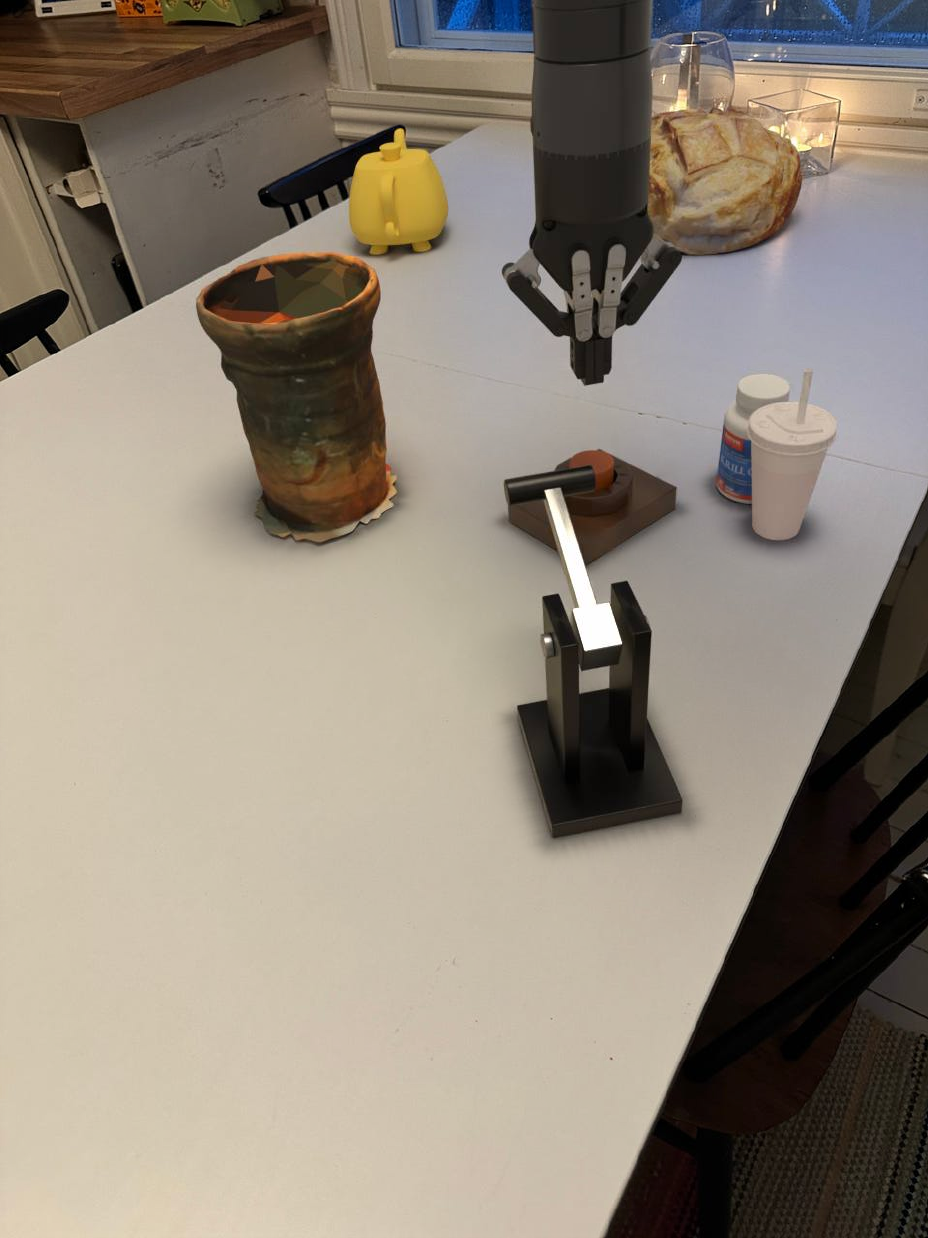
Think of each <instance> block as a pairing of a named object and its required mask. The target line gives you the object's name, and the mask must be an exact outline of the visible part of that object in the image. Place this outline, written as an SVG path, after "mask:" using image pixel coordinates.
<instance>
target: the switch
mask: <svg viewBox="0 0 928 1238" xmlns="http://www.w3.org/2000/svg"><path fill="white" fill-rule="evenodd" d="M595 489H596V478H595V473H594V470H593V467H592V466H591V465H585V466H579V467H574V468H568V469H562V470H556V471H554V470H551V471H546V472H540V473H534V474H528V475H524V476H516V477H511V478H506V479H504V480H503V490H504V496H505V502H506V504H507V507H508V506H514V505H520V504H526V503H532V502H537V501H544V504H545V507H546V511H547V514H548V518H549V521H550V524H551V528H552V531H553V535H554V538H555V541H556V545H557V548H558V551H557V552H558V555H559V558H560V562H561V565H562V568H563V571H564V575H565V578H566V581H567V585H568V589H569V592H570V595H571V599H572V603H573V606H574V607H573V608H572V609H571V611H570V612H571V613H570V619H569V621H570V623H571V626H572V629H573V631H574V634H575V636H576V639H577V642H578V644H579V671H581V672H584V671H590V670H595V669H600V668H606V667H609V666H612V665H617V664H619V659H620V655H621V651H622V646H623V642H622V639H621V636H620V633H619V629H618V626H617V623H616V620H615V617H614V614H613V611H612V607H611V601H606V602H600V603H597V598H596V596H595V592H594V589H593V587H592V583H591V579H590V577H589V573H588V570H587V567H586V566H587V565H585V563H584V560H583V557H582V553H581V550H580V547H579V544H578V541H577V537H576V534H575V531H574V528H573V524H572V521H571V518H570V515H569V512H568V508H567V505H566V502H565V499H564V497H566V496H572V495H577V494H583V493H589V492H594V491H595Z"/></svg>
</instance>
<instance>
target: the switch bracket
mask: <svg viewBox="0 0 928 1238" xmlns="http://www.w3.org/2000/svg"><path fill="white" fill-rule="evenodd" d="M541 603H542V621H543V622H542V625H543V627H542V628H543V633H540V647H541V651H542V654H543V657H544V667H545V690H546V699H543V700H538V701H532V702H528V703H521V704H519V705H516V711H517V713H516V714H517V719H518V722H519V723H518V724H519V727H520V729H521V734H522V737H523V741H524V744H525V747H526V751H527V754H528V758H529V761H530V764H531V768H532V772H533V775H534V778H535V782H536V785H537V788H538V792H539V795H540V799H541V803H542V806H543V810H544V814H545V817H546V820H547V824H548V827H549V829H550V834H551V837H552V838H557V837H563V836H568V835H573V834H577V833H582V832H588V831H592V830H593V831H594V830H599V829H602V828H608V827H613V826H614V827H615V826H619V825H623V824H629V823H632V822H638V821H639V822H640V821H643V820H649V819H653V818H659V817H664V816H669V815H673V814H678V813H682V811H683V801H684V800H683V798H682V795H681V792H680V791H679V788H678V786H677V783H676V782H675V778H674V777H673V774H672V772H671V769H670V767H669V765H668V763H667V760H666V758H665V756H664V754H663V751H662V749H661V747H660V744H659V742H658V740H657V738H656V737H657V736H656V735H655V733H654V731H653V729H652V726H651V723H650V721H649V718H648V706H649V705H648V703H649V702H648V701H649V686H650V669H651V651H652V636H653V633H652V632H653V631H652V629H651V625H650V621H649V619H648V617H647V615H645V613H644V612H643V609H642V607H641V606H640V603H639V601H638V600H637V597H636V595H635V593H634V591H633V589H632V587H631V585H630V582H629V581H628V580H623V581H617V582H612V583H610V604H611V607H612V611H613V614H614V617H615V620H616V623H617V626H618V629H619V633H620V636H621V639H622V642H623V646H622V651H621V655H620V659H619V664H617V665H612V666H608V667H609V673H608V675H609V676H608V687H607V688H606V687H605V688H602V689H597V690H591V691H584V692H580V666H579V644H578V642H577V639H576V636H575V634H574V631H573V629H572V626H571V623H570V618H569V616H568V614H567V611H566V608H565V605H564V603H563V600H562V598H561V595H560V594H559V593H557V592H556V593H553V594H546V595H543V596H542V597H541Z"/></svg>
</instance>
